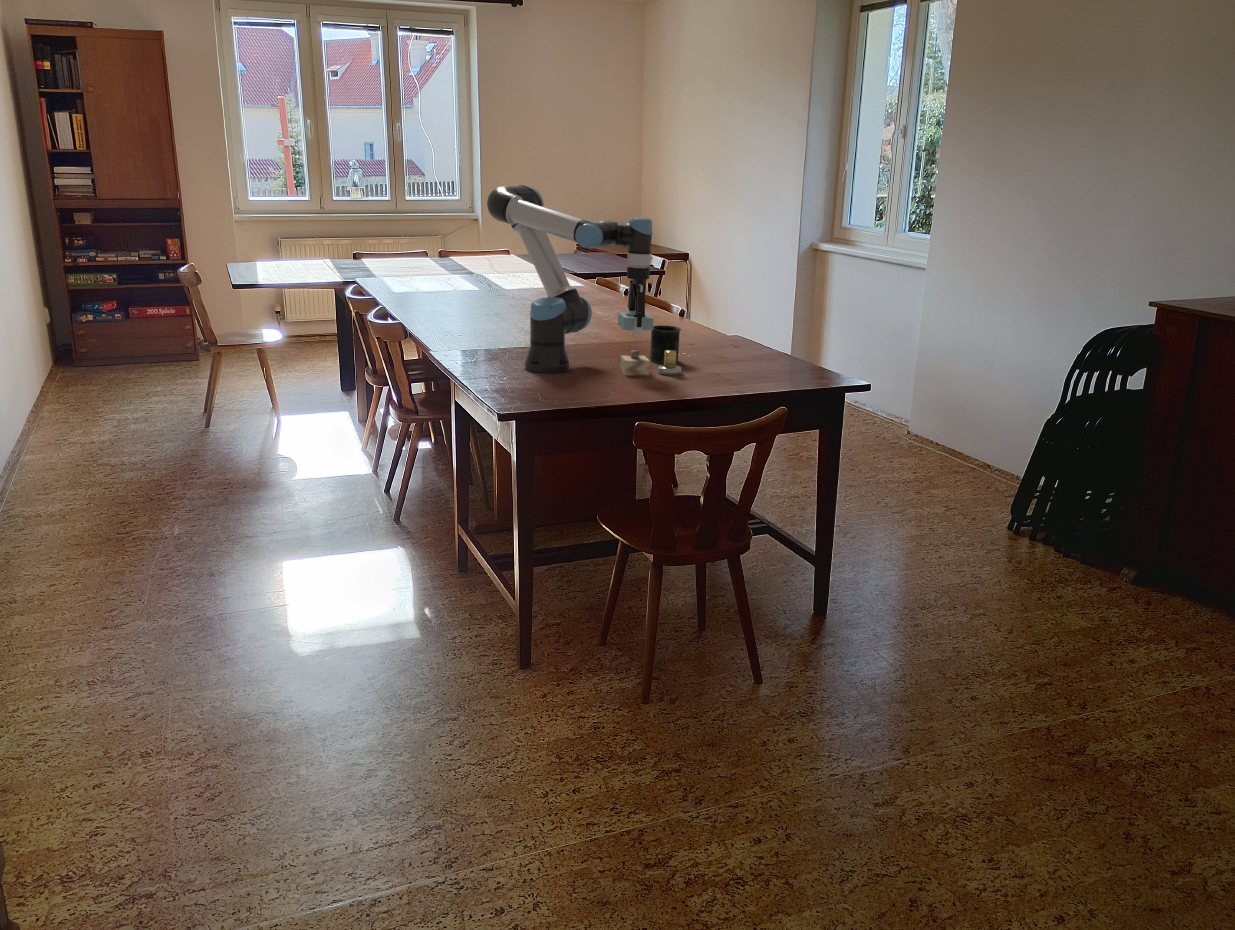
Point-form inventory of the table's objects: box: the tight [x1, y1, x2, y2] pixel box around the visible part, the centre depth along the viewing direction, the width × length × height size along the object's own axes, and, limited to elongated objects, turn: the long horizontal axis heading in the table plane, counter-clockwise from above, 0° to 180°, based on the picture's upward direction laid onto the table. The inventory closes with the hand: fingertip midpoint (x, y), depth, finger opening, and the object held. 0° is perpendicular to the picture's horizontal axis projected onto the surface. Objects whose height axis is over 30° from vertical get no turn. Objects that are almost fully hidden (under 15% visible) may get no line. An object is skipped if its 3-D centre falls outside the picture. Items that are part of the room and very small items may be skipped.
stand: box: [619, 349, 651, 376], centre depth 320 cm, size 8×8×7 cm
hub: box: [657, 350, 682, 377], centre depth 321 cm, size 8×8×8 cm
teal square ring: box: [617, 311, 655, 331], centre depth 315 cm, size 10×10×4 cm
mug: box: [649, 324, 682, 364], centre depth 340 cm, size 11×15×12 cm
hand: (634, 333), depth 317 cm, fingers closed on teal square ring, 10 cm apart
